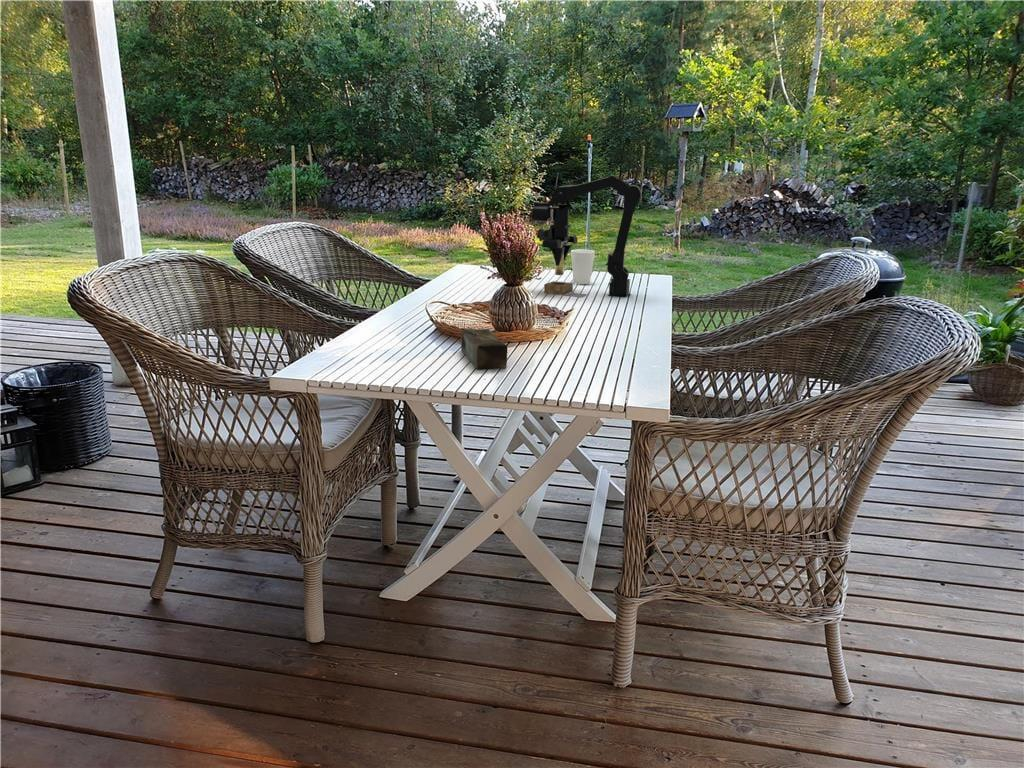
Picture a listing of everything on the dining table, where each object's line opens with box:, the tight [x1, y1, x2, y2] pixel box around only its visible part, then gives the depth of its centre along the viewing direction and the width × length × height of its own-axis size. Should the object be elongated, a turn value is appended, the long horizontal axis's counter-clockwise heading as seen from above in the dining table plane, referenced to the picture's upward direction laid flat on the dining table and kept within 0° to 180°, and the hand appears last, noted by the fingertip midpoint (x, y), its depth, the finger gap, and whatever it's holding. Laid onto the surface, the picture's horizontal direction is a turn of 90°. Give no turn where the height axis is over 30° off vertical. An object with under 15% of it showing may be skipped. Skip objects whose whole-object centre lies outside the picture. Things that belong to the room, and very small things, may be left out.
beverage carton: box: [460, 327, 508, 370], centre depth 191 cm, size 8×19×7 cm, turn 16°
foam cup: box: [570, 248, 596, 285], centre depth 297 cm, size 10×9×13 cm
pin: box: [554, 252, 565, 276], centre depth 276 cm, size 3×3×10 cm
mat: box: [563, 292, 590, 299], centre depth 275 cm, size 7×7×1 cm
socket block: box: [543, 280, 574, 296], centre depth 279 cm, size 8×8×4 cm
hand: (559, 265), depth 276 cm, fingers closed on pin, 3 cm apart
